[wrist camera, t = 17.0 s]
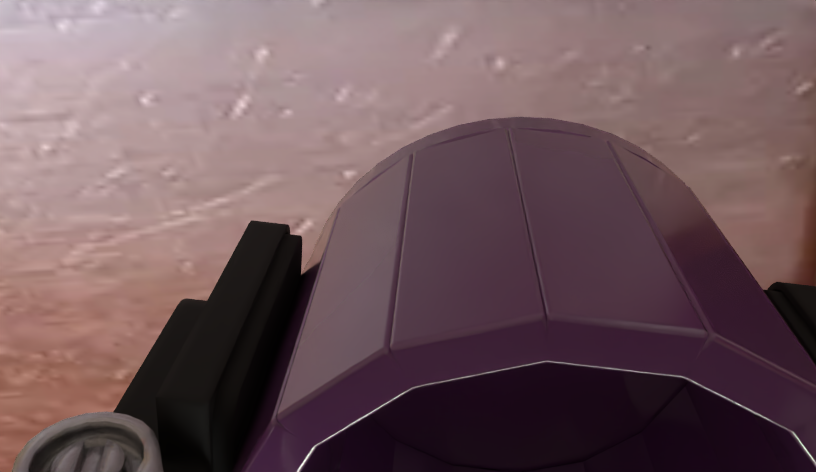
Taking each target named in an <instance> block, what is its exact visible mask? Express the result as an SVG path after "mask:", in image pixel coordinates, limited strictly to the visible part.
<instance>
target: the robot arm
mask: <svg viewBox="0 0 816 472" xmlns="http://www.w3.org/2000/svg"><path fill="white" fill-rule="evenodd" d="M301 261H302V237H301V236H299V235H290V228H289V225H286V224H277V223H269V222H260V221H251V222H250V223H249V225H248V226H247V228H246V230H245V232H244V234H243V236H242V238H241V239H240V241H239V243H238V245H237V247H236V249H235V251H234V252H233V254H232V256H231V258H230V260H229V262H228V264H227V265H226V267H225V269H224V271H223V273H222V275H221V276H220V278H219V280H218V282H217V284H216V286H215V288H214V289H213V291H212V293H211V295H210V297H209V299H208V301H203V300H195V299H183V300H182V301H181V302H180V303H179V304H178V306H177V307H176V309H175V310H174V312H173V314H172V315H171V317H170V319H169V320H168V322H167V324H166V325H165V327H164V329H163V330H162V332H161V334H160V335H159V337H158V339H157V340H156V342H155V344H154V345H153V347H152V349H151V350H150V352H149V354H148V355H147V357H146V359H145V360H144V362H143V364H142V365H141V367H140V369H139V370H138V372H137V374H136V375H135V377H134V379H133V380H132V382H131V384H130V385H129V387H128V389H127V390H126V392H125V394H124V395H123V397H122V399H121V400H120V402H119V404H118V405H117V407H116V409H115V410H114V412H113V413H112V412H98V413H86V414H82V415H78V416H75V417H71V418H67V419H64V420H62V421H60V422H58V423H56V424H54V425H52V426H50V427H48V428H46V429H44V430H43V431H41V432H40V433H39V434H37V435H36V436H35V437H34V438H32V439H31V440H30V441H29V442H27V444H26V445H25V446H24V448H23V449H22V450H21V452H20V453H19V454H18V456H17V457H16V459H15V463H14V466H13V469H12V472H232V469H233V467H234V464H235V461H236V458H237V455H238V452H239V450H240V447H241V444H242V441H243V438H244V435H245V433H246V430H247V427H248V424H249V421H250V418H251V416H252V413H253V410H254V407H255V404H256V401H257V399H258V396H259V393H260V390H261V387H262V384H263V382H264V379H265V376H266V373H267V370H268V367H269V365H270V362H271V359H272V356H273V353H274V350H275V347H276V345H277V342H278V339H279V336H280V333H281V330H282V328H283V325H284V322H285V319H286V316H287V313H288V311H289V308H290V305H291V302H292V299H293V296H294V294H295V291H296V288H297V285H298V282H299V279H300V277H301ZM763 291H764V292H765V294H766V295H767V297H768V298H769V299H770V301H771V302H772V304H773V305H774V306H775V308H776V309H777V311H778V312H779V313H780V315H781V316H782V318H783V319H784V320H785V322H786V323H787V325H788V326H789V327H790V329H791V330H792V332H793V333H794V334H795V336H796V337H797V339H798V340H799V341H800V343H801V344H802V346H803V347H804V348H805V350H806V351H807V353H808V354H809V355H810V357H811V358H812V360H813V361H814V362H815V364H816V287H815V286H808V285H799V284H791V283H782V282H776V283H773V284H772V285H771V286H770V287H769V288H768V290H763Z"/></svg>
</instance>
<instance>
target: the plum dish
mask: <svg viewBox="0 0 816 472" xmlns="http://www.w3.org/2000/svg"><path fill="white" fill-rule="evenodd" d="M232 472H816V364H815V362H814V361H813V360H812V358H811V357H810V355H809V354H808V353H807V351H806V350H805V348H804V347H803V346H802V344H801V343H800V341H799V340H798V339H797V337H796V336H795V334H794V333H793V332H792V330H791V329H790V327H789V326H788V325H787V323H786V322H785V320H784V319H783V318H782V316H781V315H780V313H779V312H778V311H777V309H776V308H775V306H774V305H773V304H772V302H771V301H770V299H769V298H768V297H767V295H766V294H765V292H764V291H763V289H762V288H761V287H760V285H759V284H758V282H757V281H756V280H755V278H754V277H753V275H752V274H751V273H750V271H749V270H748V268H747V267H746V266H745V264H744V263H743V261H742V260H741V259H740V257H739V256H738V254H737V253H736V252H735V250H734V249H733V247H732V246H731V245H730V243H729V242H728V240H727V239H726V238H725V236H724V235H723V233H722V232H721V231H720V229H719V228H718V226H717V225H716V224H715V222H714V221H713V219H712V218H711V216H710V215H709V214H708V212H707V211H706V209H705V208H704V207H703V205H702V204H701V202H700V201H699V200H698V198H697V197H696V195H695V194H694V193H693V191H692V190H691V188H689V187H688V186H686V185H685V183H684V182H683V181H682V180H681V179H680V178H679V177H678V176H677V175H675V174H674V173H673V172H672V171H671V170H670V169H669V168H668V167H667V166H665V165H664V164H663V163H662V162H661V161H659V160H658V159H656V158H655V157H653V156H652V155H650V154H649V153H647V152H646V151H644V150H643V149H641V148H640V147H638V146H636V145H634V144H632V143H630V142H628V141H626V140H624V139H622V138H620V137H618V136H615V135H613V134H611V133H608V132H605V131H602V130H599V129H596V128H593V127H590V126H586V125H583V124H579V123H573V122H568V121H562V120H557V119H550V118H532V117H512V118H498V119H487V120H482V121H477V122H472V123H467V124H462V125H458V126H455V127H452V128H448V129H445V130H442V131H439V132H436V133H433V134H430V135H428V136H426V137H424V138H422V139H420V140H418V141H415V142H413V143H411V144H409V145H407V146H405V147H403V148H401V149H400V150H398V151H397V152H395V153H394V154H392V155H390V156H389V157H387V158H386V159H384V160H383V161H381V162H380V163H378V164H377V165H376V166H375V167H373V168H372V169H371V170H370V171H369V172H368V173H366V174H365V175H364V176H363V177H362V178H361V179H359V180H358V181H357V182H356V183H355V184H354V186H353V187H352V188H351V189H350V190H349V191H348V192H347V194H346V195H345V196H344V197H343V198H342V199H341V200H340V201H339V203H338V204H337V206H336V208H335V209H334V211H333V212H332V214H331V215H330V217H329V218H328V220H327V221H326V223H325V225H324V227H323V229H322V231H321V234H320V236H319V238H318V240H317V242H316V244H315V247H314V250H313V253H312V255H311V257H310V259H309V261H308V262H307V264H306V266H305V268H304V270H303V271H302V274H301V277H300V279H299V282H298V285H297V288H296V291H295V294H294V296H293V299H292V302H291V305H290V308H289V311H288V313H287V316H286V319H285V322H284V325H283V328H282V330H281V333H280V336H279V339H278V342H277V345H276V347H275V350H274V353H273V356H272V359H271V362H270V365H269V367H268V370H267V373H266V376H265V379H264V382H263V384H262V387H261V390H260V393H259V396H258V399H257V401H256V404H255V407H254V410H253V413H252V416H251V418H250V421H249V424H248V427H247V430H246V433H245V435H244V438H243V441H242V444H241V447H240V450H239V452H238V455H237V458H236V461H235V464H234V467H233V469H232Z"/></svg>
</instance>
